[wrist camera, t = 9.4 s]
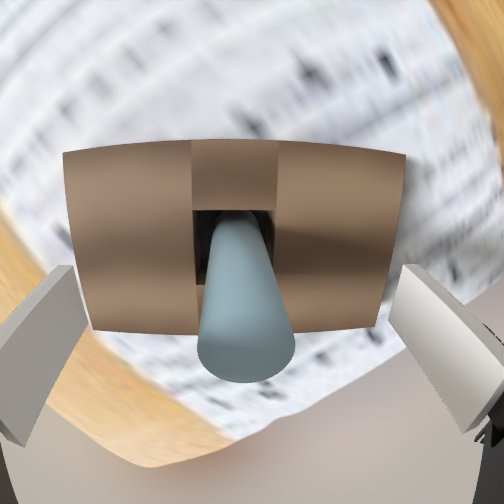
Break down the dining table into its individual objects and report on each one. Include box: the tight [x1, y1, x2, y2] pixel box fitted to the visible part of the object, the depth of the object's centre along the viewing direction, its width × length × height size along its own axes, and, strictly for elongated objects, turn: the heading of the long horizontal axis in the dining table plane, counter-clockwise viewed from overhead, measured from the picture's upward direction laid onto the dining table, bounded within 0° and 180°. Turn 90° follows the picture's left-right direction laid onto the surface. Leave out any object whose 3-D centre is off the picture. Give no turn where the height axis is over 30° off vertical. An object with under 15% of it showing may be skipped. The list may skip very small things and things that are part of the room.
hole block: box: [63, 139, 406, 335], centre depth 18 cm, size 12×20×4 cm, turn 89°
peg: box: [197, 210, 295, 383], centre depth 14 cm, size 3×3×12 cm
